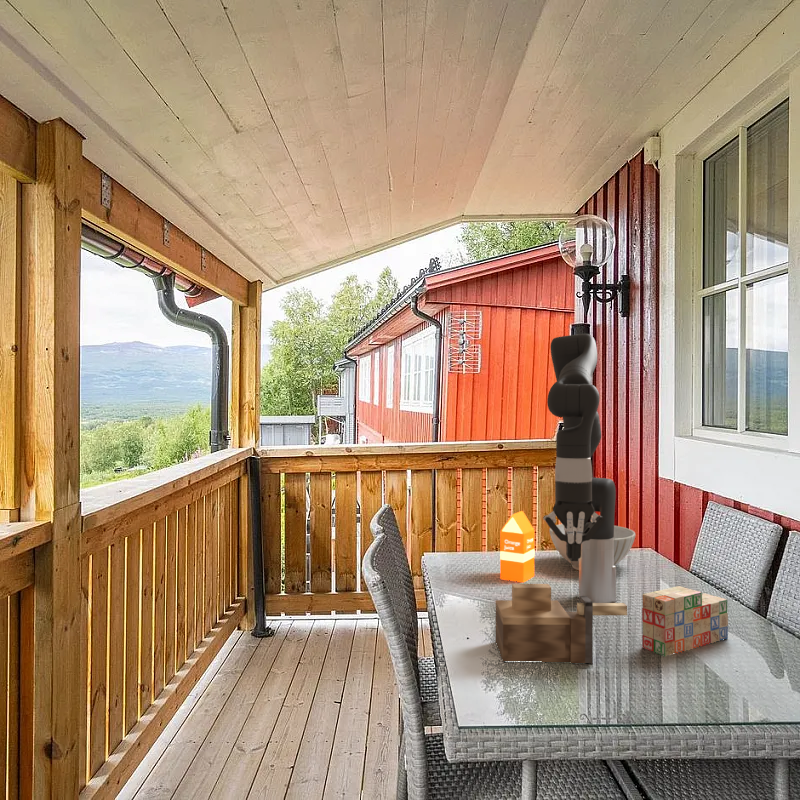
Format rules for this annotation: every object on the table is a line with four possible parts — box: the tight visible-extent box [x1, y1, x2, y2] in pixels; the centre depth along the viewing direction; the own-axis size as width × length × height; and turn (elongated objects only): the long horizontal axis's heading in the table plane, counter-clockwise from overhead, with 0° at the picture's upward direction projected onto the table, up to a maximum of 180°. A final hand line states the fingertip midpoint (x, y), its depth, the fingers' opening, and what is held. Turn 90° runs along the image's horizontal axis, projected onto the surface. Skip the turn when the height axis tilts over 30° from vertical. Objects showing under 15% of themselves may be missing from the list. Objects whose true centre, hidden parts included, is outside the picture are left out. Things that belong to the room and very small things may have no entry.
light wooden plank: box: [576, 602, 628, 616], centre depth 146 cm, size 10×2×2 cm, turn 90°
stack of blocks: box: [641, 585, 729, 657], centre depth 156 cm, size 21×6×12 cm, turn 120°
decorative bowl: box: [548, 523, 636, 571], centre depth 224 cm, size 27×27×12 cm
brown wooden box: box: [495, 596, 594, 665], centre depth 150 cm, size 18×13×13 cm
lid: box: [495, 583, 570, 625], centre depth 151 cm, size 14×12×8 cm
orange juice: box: [499, 510, 536, 584], centre depth 212 cm, size 8×9×20 cm
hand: (573, 560), depth 146 cm, fingers closed
